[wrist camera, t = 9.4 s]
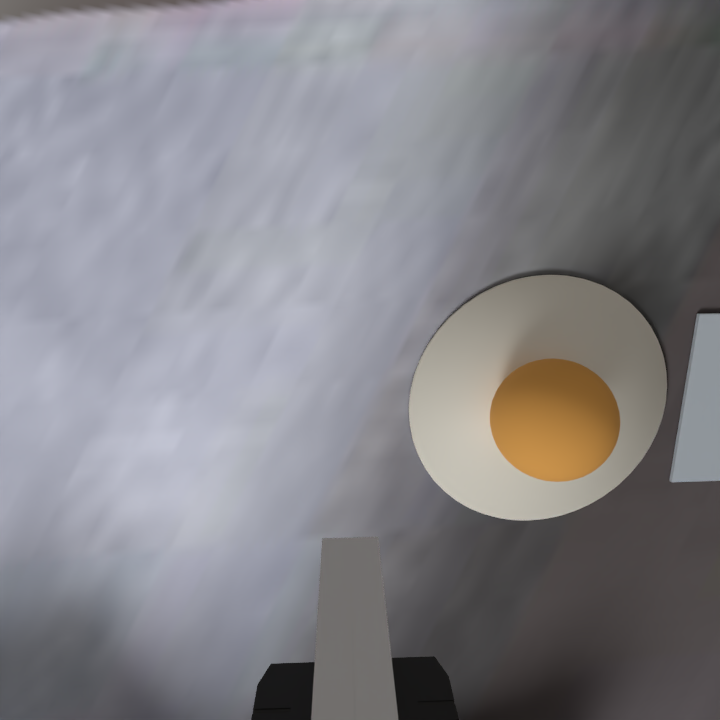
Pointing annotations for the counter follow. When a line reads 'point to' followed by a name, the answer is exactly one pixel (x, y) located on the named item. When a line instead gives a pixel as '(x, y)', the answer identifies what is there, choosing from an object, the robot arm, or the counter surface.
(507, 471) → the disc
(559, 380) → the ball
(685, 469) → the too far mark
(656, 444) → the counter surface
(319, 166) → the counter surface
